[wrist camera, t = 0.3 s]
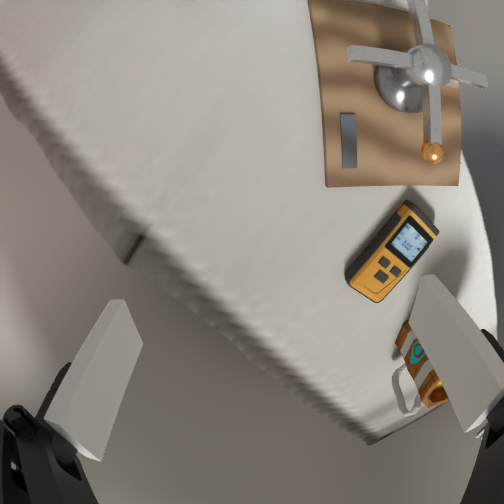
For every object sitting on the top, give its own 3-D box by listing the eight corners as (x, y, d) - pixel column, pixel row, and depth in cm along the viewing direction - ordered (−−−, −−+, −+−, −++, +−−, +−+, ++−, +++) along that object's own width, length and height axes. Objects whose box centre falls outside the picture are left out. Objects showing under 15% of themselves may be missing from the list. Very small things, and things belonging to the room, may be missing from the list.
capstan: (322, 0, 23) (339, -26, 15) (444, 25, 22) (478, 15, 14) (338, 152, 32) (362, 164, 25) (454, 156, 31) (491, 170, 24)
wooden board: (307, 1, 24) (309, -3, 23) (445, 26, 23) (451, 25, 22) (325, 185, 36) (328, 188, 35) (453, 183, 35) (459, 186, 33)
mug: (423, 296, 44) (462, 352, 31) (458, 313, 47) (492, 361, 33) (364, 367, 53) (383, 424, 39) (404, 374, 55) (425, 424, 42)
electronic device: (339, 273, 43) (344, 285, 40) (403, 196, 37) (413, 203, 34) (373, 296, 45) (379, 308, 42) (433, 226, 39) (443, 235, 36)
